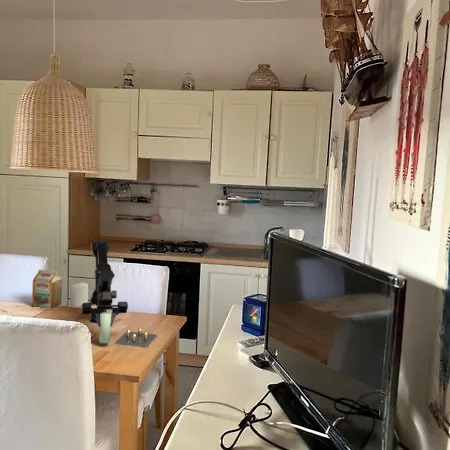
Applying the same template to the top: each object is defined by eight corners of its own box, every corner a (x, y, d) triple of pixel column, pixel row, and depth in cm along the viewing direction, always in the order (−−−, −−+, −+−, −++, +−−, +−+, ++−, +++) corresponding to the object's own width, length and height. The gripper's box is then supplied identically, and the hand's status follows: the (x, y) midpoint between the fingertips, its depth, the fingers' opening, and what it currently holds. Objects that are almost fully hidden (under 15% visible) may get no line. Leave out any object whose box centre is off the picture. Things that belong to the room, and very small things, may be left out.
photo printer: (74, 308, 249) (74, 285, 248) (68, 306, 251) (69, 283, 250) (89, 304, 258) (89, 282, 256) (83, 302, 260) (84, 280, 259)
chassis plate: (115, 343, 202) (115, 334, 202) (127, 333, 216) (127, 324, 216) (147, 347, 200) (147, 338, 200) (156, 336, 214) (157, 328, 214)
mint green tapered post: (97, 342, 197) (98, 314, 196) (101, 339, 202) (102, 311, 200) (107, 343, 197) (108, 315, 195) (111, 340, 201) (112, 312, 200)
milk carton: (61, 304, 255) (62, 269, 253) (50, 309, 245) (51, 273, 243) (43, 302, 257) (44, 267, 255) (32, 307, 246) (32, 271, 244)
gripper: (82, 283, 197) (83, 317, 188) (128, 283, 203) (130, 316, 194) (81, 297, 206) (81, 330, 196) (125, 296, 212) (127, 328, 202)
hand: (105, 326), depth 197 cm, fingers closed on mint green tapered post, 4 cm apart
